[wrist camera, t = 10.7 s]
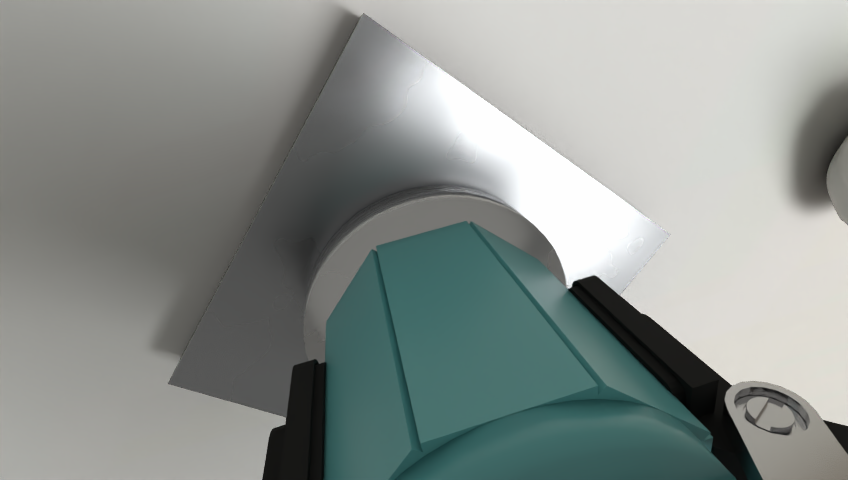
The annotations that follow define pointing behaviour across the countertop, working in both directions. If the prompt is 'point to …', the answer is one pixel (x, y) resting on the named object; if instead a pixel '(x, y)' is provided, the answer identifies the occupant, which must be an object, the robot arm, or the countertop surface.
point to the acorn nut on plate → (393, 213)
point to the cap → (490, 376)
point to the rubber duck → (839, 181)
